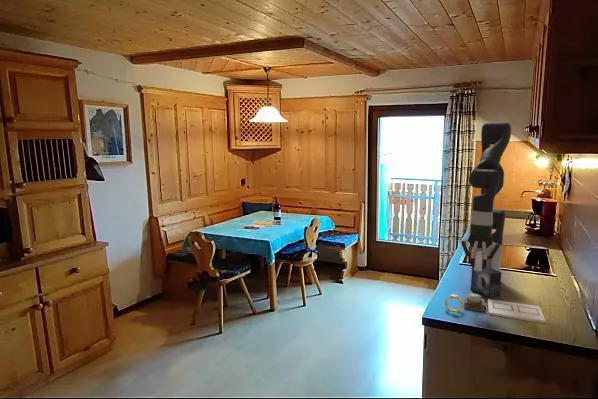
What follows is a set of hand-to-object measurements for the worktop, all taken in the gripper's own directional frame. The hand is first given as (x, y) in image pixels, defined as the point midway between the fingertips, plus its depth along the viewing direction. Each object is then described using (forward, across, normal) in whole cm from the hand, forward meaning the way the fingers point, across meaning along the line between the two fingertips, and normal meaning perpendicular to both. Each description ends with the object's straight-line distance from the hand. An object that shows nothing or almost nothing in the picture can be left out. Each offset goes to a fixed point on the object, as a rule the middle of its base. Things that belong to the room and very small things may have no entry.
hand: (477, 268), depth 159 cm
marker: (+1, 0, 0) cm, 1 cm away
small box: (+15, -4, -20) cm, 26 cm away
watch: (+16, +7, +8) cm, 19 cm away
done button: (+14, 0, 0) cm, 14 cm away
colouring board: (+15, -14, -2) cm, 21 cm away
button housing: (+15, 0, 0) cm, 15 cm away
